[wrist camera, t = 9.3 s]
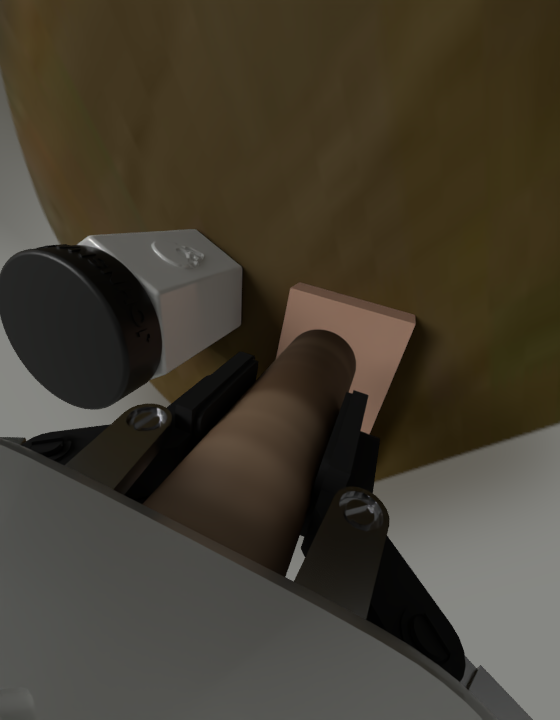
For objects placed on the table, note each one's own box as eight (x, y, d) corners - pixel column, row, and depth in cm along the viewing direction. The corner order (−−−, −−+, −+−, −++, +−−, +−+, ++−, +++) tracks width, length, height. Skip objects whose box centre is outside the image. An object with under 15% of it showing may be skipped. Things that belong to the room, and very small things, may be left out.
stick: (294, 320, 15) (46, 549, 5) (365, 342, 14) (251, 672, 4) (281, 380, 17) (74, 649, 6) (345, 403, 16) (225, 752, 6)
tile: (290, 287, 21) (261, 428, 26) (415, 324, 19) (355, 466, 25) (301, 281, 23) (272, 413, 28) (415, 313, 21) (359, 447, 27)
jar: (268, 283, 23) (157, 336, 13) (219, 358, 28) (107, 443, 17) (174, 207, 24) (-6, 200, 13) (141, 293, 28) (-17, 338, 18)
